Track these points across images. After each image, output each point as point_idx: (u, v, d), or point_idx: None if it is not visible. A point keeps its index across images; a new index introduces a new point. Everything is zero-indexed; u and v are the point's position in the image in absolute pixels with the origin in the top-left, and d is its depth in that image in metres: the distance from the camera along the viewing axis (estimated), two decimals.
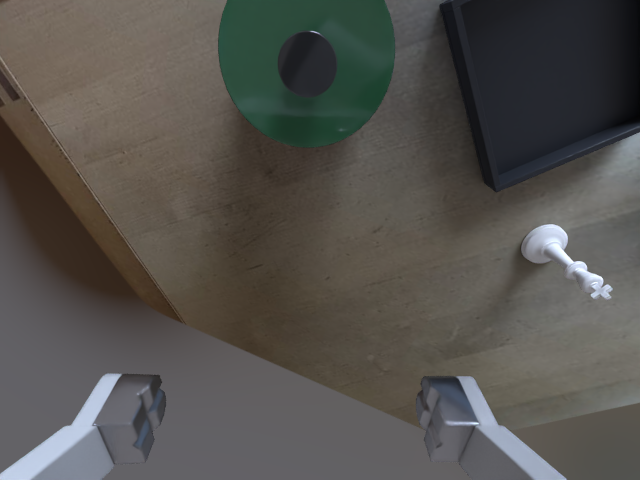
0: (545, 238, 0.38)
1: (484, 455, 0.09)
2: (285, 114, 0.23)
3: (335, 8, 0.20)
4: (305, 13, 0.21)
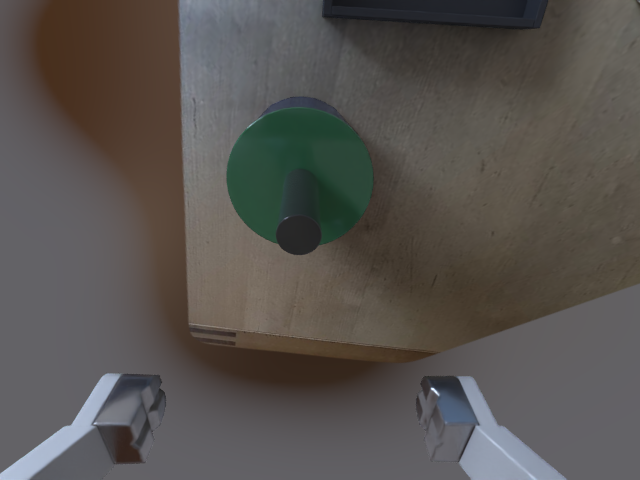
0: None
1: (484, 455, 0.09)
2: (328, 219, 0.28)
3: (278, 148, 0.25)
4: (270, 171, 0.25)
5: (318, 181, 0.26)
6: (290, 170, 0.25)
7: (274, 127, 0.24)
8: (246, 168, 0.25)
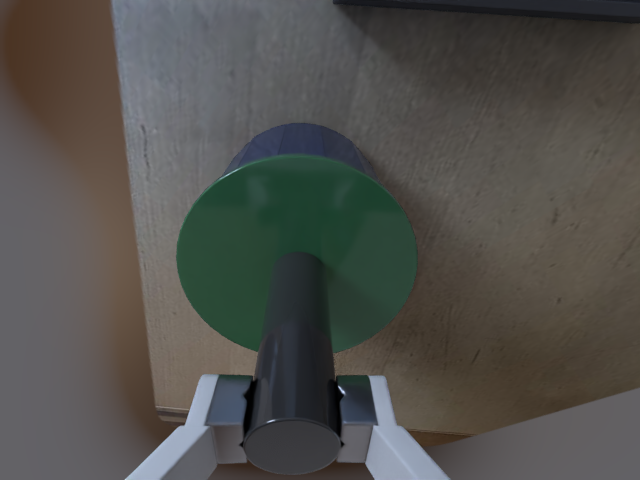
0: None
1: (381, 456, 0.09)
2: (342, 321, 0.18)
3: (260, 221, 0.15)
4: (249, 255, 0.15)
5: (327, 269, 0.16)
6: (281, 253, 0.15)
7: (253, 189, 0.14)
8: (208, 251, 0.15)
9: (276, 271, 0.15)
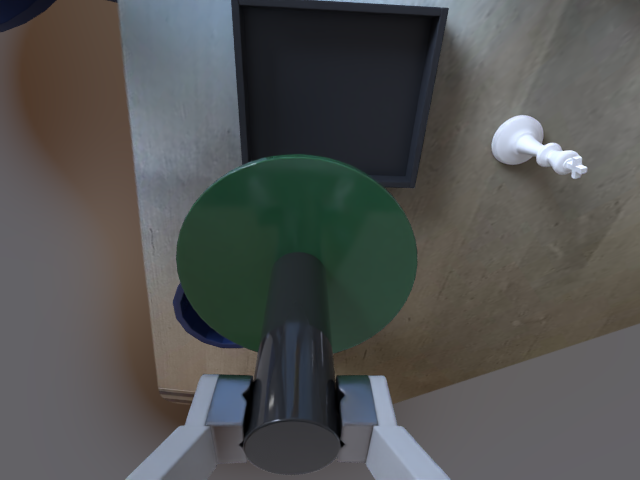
0: (507, 143, 0.34)
1: (382, 456, 0.09)
2: (342, 321, 0.18)
3: (260, 221, 0.15)
4: (249, 255, 0.15)
5: (327, 269, 0.16)
6: (281, 254, 0.15)
7: (253, 189, 0.14)
8: (208, 252, 0.15)
9: (276, 271, 0.15)
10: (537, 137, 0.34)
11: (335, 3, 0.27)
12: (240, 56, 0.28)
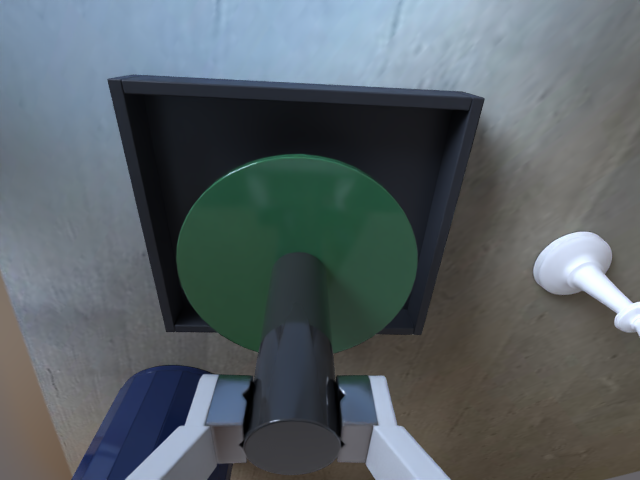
0: (558, 272, 0.23)
1: (382, 456, 0.09)
2: (342, 321, 0.18)
3: (260, 221, 0.15)
4: (249, 255, 0.15)
5: (327, 269, 0.16)
6: (281, 254, 0.15)
7: (253, 189, 0.14)
8: (208, 251, 0.15)
9: (276, 271, 0.15)
10: (603, 264, 0.23)
11: (291, 91, 0.16)
12: (138, 170, 0.17)
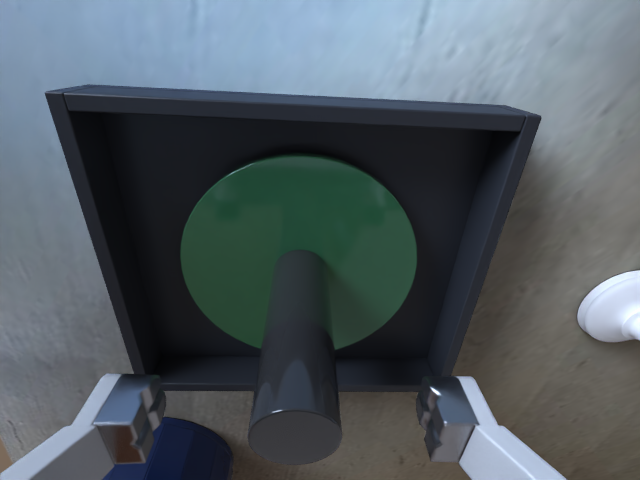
0: (610, 318, 0.19)
1: (484, 455, 0.09)
2: (343, 318, 0.18)
3: (263, 219, 0.15)
4: (252, 253, 0.16)
5: (328, 266, 0.16)
6: (283, 251, 0.16)
7: (256, 188, 0.14)
8: (212, 249, 0.16)
9: (278, 268, 0.15)
10: None
11: (289, 107, 0.12)
12: (93, 206, 0.13)
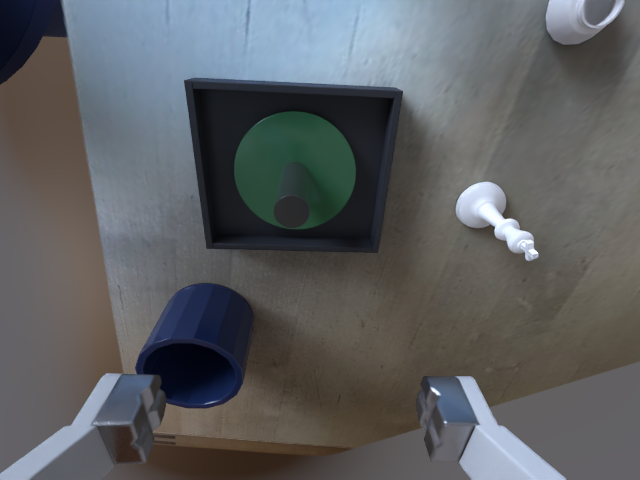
0: (470, 209, 0.34)
1: (484, 455, 0.09)
2: (319, 205, 0.33)
3: (276, 145, 0.30)
4: (270, 164, 0.31)
5: (310, 172, 0.31)
6: (286, 163, 0.31)
7: (273, 127, 0.29)
8: (250, 161, 0.31)
9: (284, 169, 0.30)
10: (499, 204, 0.34)
11: (289, 87, 0.27)
12: (197, 135, 0.28)
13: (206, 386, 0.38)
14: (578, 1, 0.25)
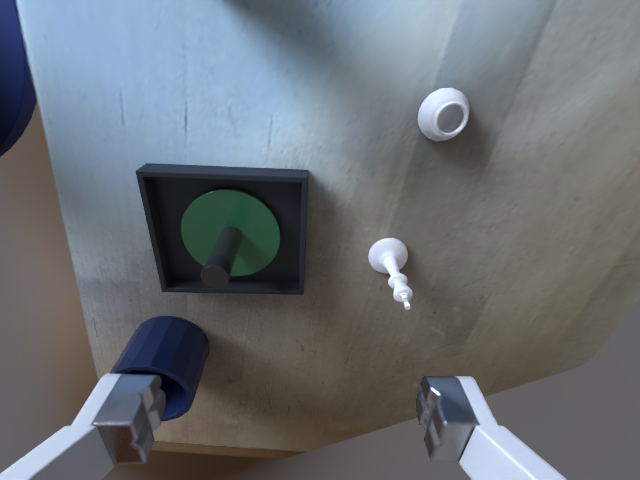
0: (377, 260, 0.42)
1: (484, 455, 0.09)
2: (252, 257, 0.41)
3: (213, 214, 0.38)
4: (210, 228, 0.38)
5: (242, 234, 0.39)
6: (223, 227, 0.38)
7: (210, 201, 0.37)
8: (193, 226, 0.38)
9: (219, 233, 0.38)
10: (401, 255, 0.42)
11: (218, 175, 0.35)
12: (148, 209, 0.36)
13: (166, 402, 0.46)
14: (434, 116, 0.33)
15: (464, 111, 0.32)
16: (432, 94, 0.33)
